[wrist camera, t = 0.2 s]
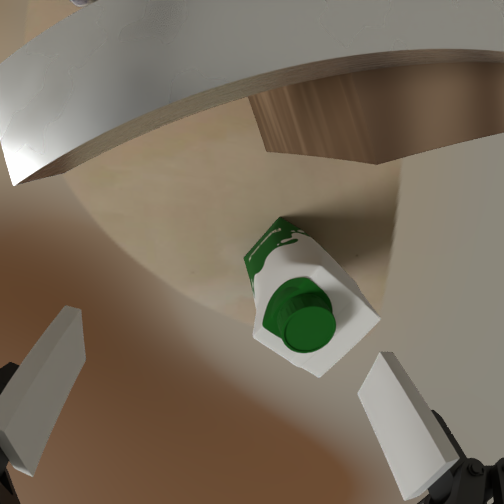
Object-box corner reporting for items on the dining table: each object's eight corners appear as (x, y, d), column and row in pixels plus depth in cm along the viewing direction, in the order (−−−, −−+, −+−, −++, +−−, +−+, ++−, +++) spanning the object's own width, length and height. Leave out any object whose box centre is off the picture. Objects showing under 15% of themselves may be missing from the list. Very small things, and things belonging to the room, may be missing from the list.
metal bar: (68, 185, 9) (-4, 210, 5) (36, 75, 8) (-35, 57, 4) (559, 75, 8) (605, 76, 5) (537, 9, 7) (580, 2, 3)
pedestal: (266, 151, 36) (377, 164, 10) (240, 75, 33) (282, -71, 6) (368, 123, 36) (558, 121, 9) (345, 53, 32) (503, -35, 6)
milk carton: (278, 206, 38) (331, 265, 20) (328, 250, 41) (402, 330, 22) (233, 258, 40) (242, 355, 21) (284, 297, 43) (325, 402, 24)
